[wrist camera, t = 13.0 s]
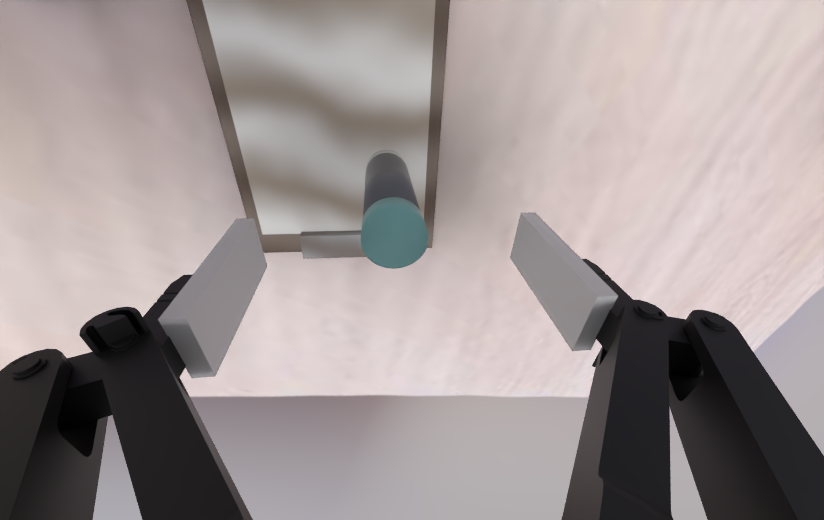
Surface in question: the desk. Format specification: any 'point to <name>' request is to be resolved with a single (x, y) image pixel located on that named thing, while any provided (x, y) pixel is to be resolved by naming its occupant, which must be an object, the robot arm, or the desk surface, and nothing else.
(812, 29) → the desk surface
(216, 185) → the desk surface
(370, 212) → the marker
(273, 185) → the clipboard
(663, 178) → the desk surface
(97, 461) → the robot arm
